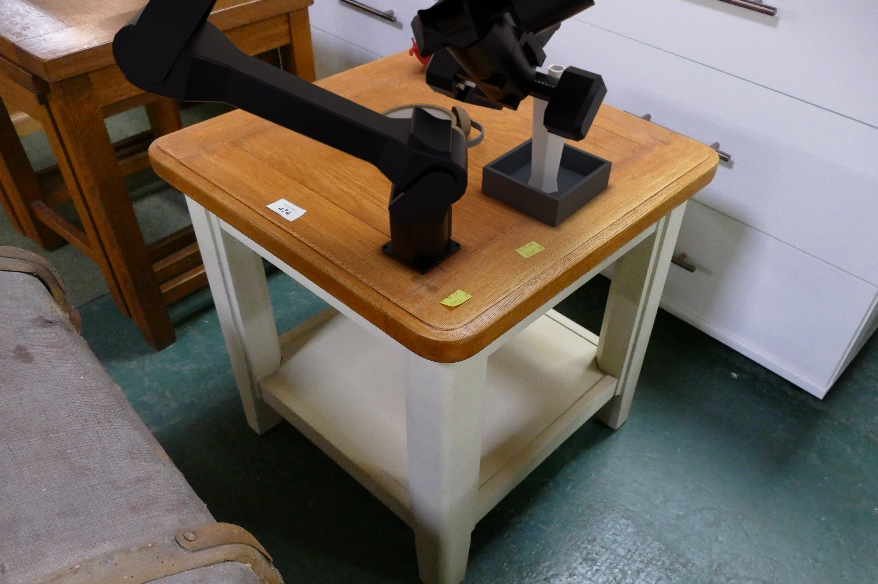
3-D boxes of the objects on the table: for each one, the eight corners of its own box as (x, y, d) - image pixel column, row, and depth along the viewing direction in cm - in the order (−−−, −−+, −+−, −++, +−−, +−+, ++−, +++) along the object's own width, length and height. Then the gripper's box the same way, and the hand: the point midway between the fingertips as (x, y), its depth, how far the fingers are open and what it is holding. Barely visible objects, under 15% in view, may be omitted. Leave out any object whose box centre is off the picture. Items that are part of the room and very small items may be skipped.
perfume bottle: (568, 187, 84) (586, 69, 74) (545, 199, 82) (560, 79, 72) (542, 173, 87) (556, 56, 76) (518, 184, 84) (529, 65, 74)
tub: (555, 227, 79) (558, 201, 77) (481, 192, 84) (482, 166, 81) (607, 187, 86) (612, 162, 84) (536, 157, 91) (539, 132, 88)
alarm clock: (381, 102, 93) (486, 95, 91) (389, 135, 97) (491, 128, 94) (359, 139, 85) (475, 133, 83) (369, 174, 89) (480, 168, 86)
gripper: (616, -14, 57) (643, 74, 71) (440, -58, 64) (498, 31, 78) (560, 106, 57) (598, 170, 72) (391, 50, 64) (457, 118, 79)
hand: (536, 118), depth 75 cm, fingers open, 9 cm apart
